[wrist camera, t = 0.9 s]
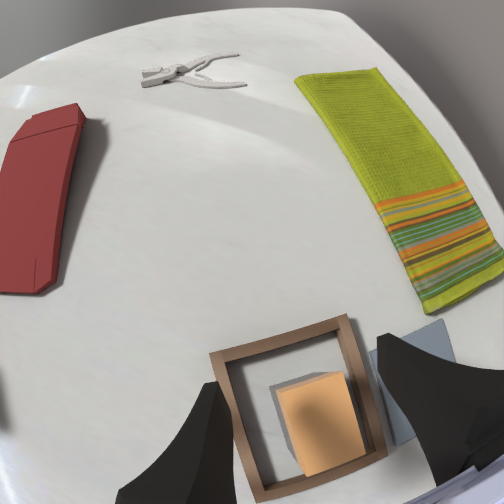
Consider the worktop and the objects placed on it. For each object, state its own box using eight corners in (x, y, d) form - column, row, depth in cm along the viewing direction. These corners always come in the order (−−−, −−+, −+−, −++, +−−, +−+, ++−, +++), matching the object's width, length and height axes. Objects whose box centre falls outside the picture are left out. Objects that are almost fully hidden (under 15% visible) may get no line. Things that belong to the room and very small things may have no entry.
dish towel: (422, 322, 27) (439, 315, 24) (290, 84, 39) (293, 67, 36) (499, 273, 29) (515, 264, 26) (373, 79, 42) (378, 64, 39)
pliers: (245, 80, 37) (137, 94, 36) (245, 88, 38) (139, 102, 37) (237, 47, 41) (144, 60, 39) (237, 55, 42) (146, 67, 41)
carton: (73, 298, 30) (98, 116, 36) (49, 292, 25) (86, 95, 31) (4, 295, 29) (34, 131, 35) (-20, 290, 25) (19, 114, 31)
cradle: (381, 452, 22) (388, 455, 20) (255, 497, 20) (256, 503, 19) (341, 316, 27) (346, 313, 25) (210, 354, 25) (209, 353, 24)
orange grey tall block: (331, 433, 22) (366, 453, 15) (288, 448, 22) (306, 477, 15) (313, 372, 25) (342, 371, 17) (268, 386, 24) (280, 392, 17)
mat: (462, 404, 23) (465, 404, 22) (395, 445, 22) (397, 446, 21) (439, 319, 26) (442, 318, 26) (368, 351, 25) (371, 351, 25)
